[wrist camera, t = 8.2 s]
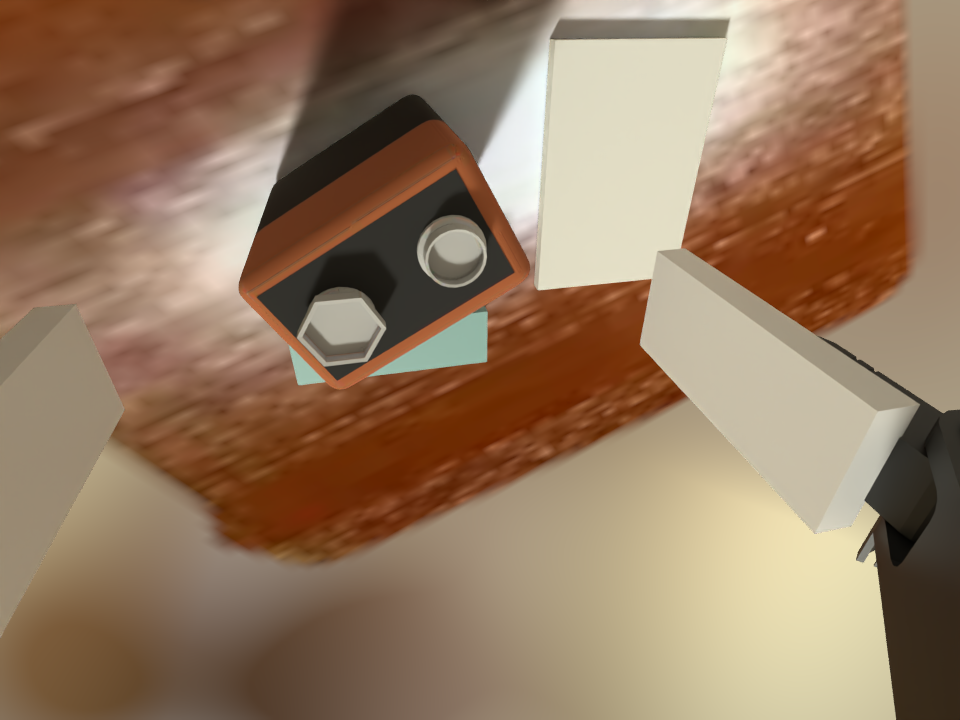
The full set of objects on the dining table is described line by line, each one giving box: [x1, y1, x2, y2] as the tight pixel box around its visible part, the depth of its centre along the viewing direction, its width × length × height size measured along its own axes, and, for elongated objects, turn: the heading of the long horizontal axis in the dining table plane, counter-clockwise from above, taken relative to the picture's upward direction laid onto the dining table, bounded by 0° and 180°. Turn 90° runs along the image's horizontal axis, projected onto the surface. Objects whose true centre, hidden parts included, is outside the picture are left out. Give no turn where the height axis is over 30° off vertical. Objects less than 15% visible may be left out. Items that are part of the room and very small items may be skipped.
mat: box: [534, 38, 727, 290], centre depth 23 cm, size 10×7×1 cm
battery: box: [239, 95, 530, 389], centre depth 17 cm, size 4×7×10 cm, turn 118°
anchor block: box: [289, 306, 487, 385], centre depth 23 cm, size 2×8×3 cm, turn 89°
